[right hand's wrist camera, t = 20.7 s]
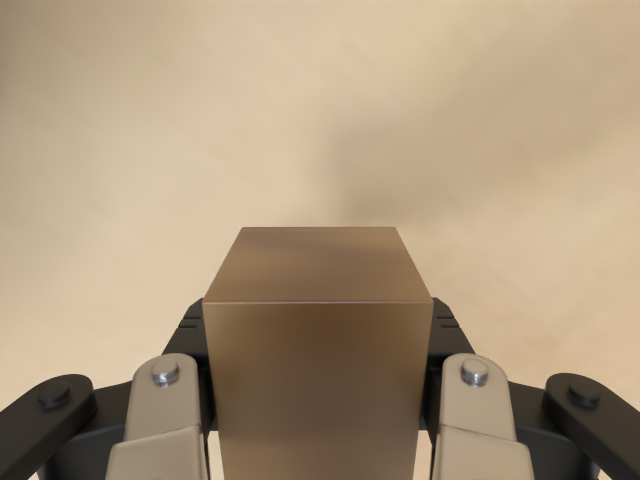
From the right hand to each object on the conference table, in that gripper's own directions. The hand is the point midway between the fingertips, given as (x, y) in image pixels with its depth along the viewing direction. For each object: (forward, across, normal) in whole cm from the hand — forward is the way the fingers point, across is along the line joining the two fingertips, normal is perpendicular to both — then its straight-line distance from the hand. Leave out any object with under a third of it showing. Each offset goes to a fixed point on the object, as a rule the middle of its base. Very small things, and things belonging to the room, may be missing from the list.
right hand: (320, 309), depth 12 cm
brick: (+1, 0, 0) cm, 1 cm away
